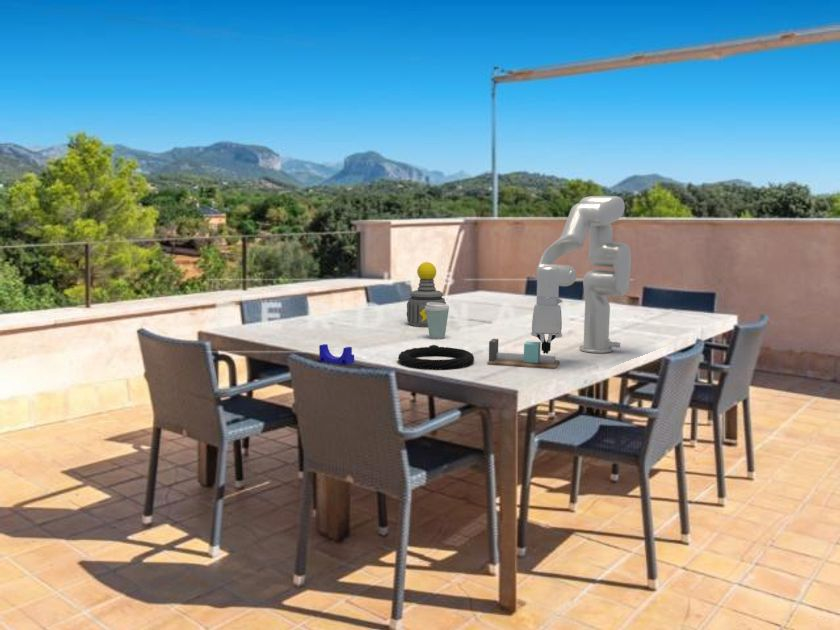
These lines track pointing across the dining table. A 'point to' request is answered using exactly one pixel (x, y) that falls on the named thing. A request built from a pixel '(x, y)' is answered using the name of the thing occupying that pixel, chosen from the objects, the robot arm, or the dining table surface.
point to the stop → (493, 349)
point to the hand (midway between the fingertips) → (545, 352)
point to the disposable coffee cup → (437, 319)
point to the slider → (532, 351)
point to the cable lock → (460, 361)
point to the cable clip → (328, 357)
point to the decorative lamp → (423, 296)
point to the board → (524, 364)
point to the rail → (521, 358)
